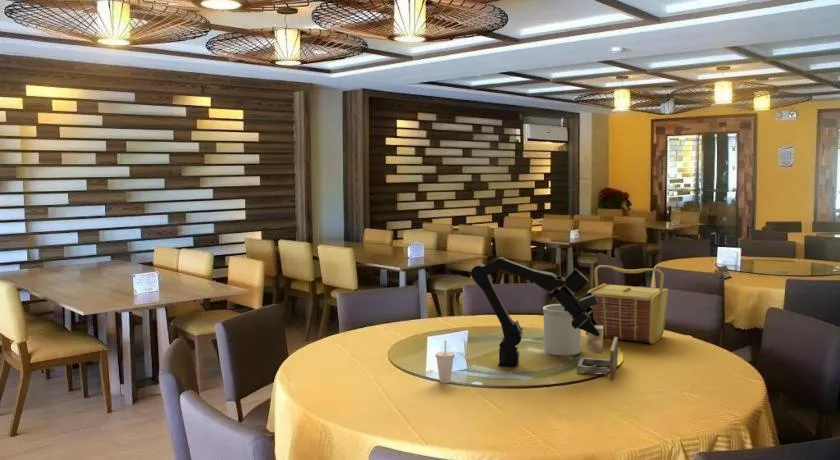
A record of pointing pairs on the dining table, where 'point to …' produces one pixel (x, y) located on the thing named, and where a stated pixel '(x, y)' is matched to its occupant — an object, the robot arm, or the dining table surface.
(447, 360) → the smoothie
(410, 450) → the dining table surface
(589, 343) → the cabinet block
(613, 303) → the picnic basket
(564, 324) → the utensil holder
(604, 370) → the grey frame stand
